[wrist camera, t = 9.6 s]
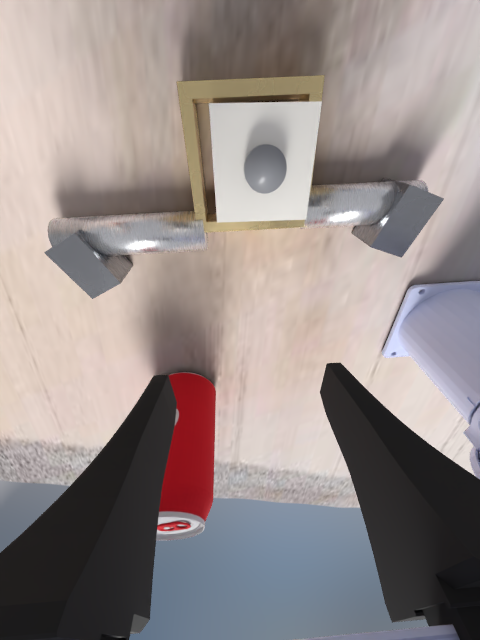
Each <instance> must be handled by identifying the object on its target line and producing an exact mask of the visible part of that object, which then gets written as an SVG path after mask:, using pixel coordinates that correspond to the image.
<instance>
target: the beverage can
mask: <svg viewBox="0 0 480 640" xmlns="http://www.w3.org/2000/svg"><path fill="white" fill-rule="evenodd" d="M169 379H170V382H171V385H172V388H173V391H174V395H175V398H176V401H177V408H176V419H175V427H174V432H173V436H172V441H171V446H170V451H169V455H168V460H167V465H166V470H165V474H164V479H163V485H162V492H161V500H160V508H159V517H158V526H157V535H156V540H178V539H184V538H189V537H193V536H195V535H198V534H200V533H201V532H202V531H203V530H204V528H205V521H206V518H207V516H208V513H209V511H210V508H211V506H212V502H213V483H214V442H215V401H216V390H215V387H214V385H213V384H212V383H211V382H210V381H209V380H208V379H207V378H205V377H203V376H201V375H199V374H195V373H190V372H179V373H174V374H170V375H169Z"/></svg>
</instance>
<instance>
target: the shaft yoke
mask: <svg viewBox="0 0 480 640" xmlns="http://www.w3.org/2000/svg"><path fill="white" fill-rule="evenodd" d="M324 76H325V75H318V76H295V77H272V78H248V79H225V80H202V81H178V82H177V88H178V96H179V103H180V110H181V117H182V124H183V132H184V139H185V146H186V153H187V160H188V168H189V175H190V182H191V189H192V197H193V204H194V211H180V212H162V213H144V214H125V215H107V216H89V217H71V218H54V219H52V220H51V221H50V223H49V225H48V236H49V240H50V243H51V245H52V248H51V249H49V250H48V251H46V252H45V254H46V255H47V256H48V257H49V258H50V259H51V260H52V261H53V262H54V263H56V264H57V265H58V266H59V267H60V268H61V269H62V270H63V271H64V272H65V273H66V274H67V275H68V276H69V277H70V278H71V279H72V280H73V281H74V282H75V283H76V284H77V285H79V286H80V287H81V288H82V289H83V290H84V291H85V292H86V293H87V294H88V295H89V296H90V297H91V298H92V299H93V298H95V297H97V296H99V295H100V294H102V293H104V292H106V291H108V290H109V289H111V288H113V287H115V286H117V285H118V284H120V283H121V282H122V281H123V279H124V278H125V276H126V275H127V274H128V272H129V271H130V269H131V268H132V266H133V264H132V263H131V262H130V261H129V259H128V258H127V257H126V256H125V255H135V254H152V253H169V252H186V251H203V250H208V237H207V232H225V231H242V230H260V229H278V228H295V227H300V228H301V229H304V228H322V227H339V226H355V228H354V230H353V232H352V234H353V235H355V236H356V237H358V238H359V239H360V240H362V241H363V242H364V243H366V244H367V245H369V246H370V247H372V248H375V249H378V250H381V251H384V252H387V253H390V254H393V255H396V256H399V257H402V256H403V255H404V253H405V252H406V251H407V249H408V248H409V247H410V245H411V244H412V242H413V241H414V240H415V238H416V237H417V235H418V234H419V233H420V231H421V230H422V229H423V227H424V226H425V224H426V223H427V222H428V220H429V219H430V217H431V216H432V215H433V213H434V212H435V211H436V209H437V208H438V206H439V205H440V204H441V202H442V201H443V198H441V197H439V196H436V195H434V194H431V193H429V192H428V188H427V185H426V183H425V182H424V181H422V180H406V181H394V180H390V179H386V178H383V179H382V181H381V182H369V183H350V184H331V185H312V180H311V187H310V195H309V202H308V210H307V217H306V220H279V221H249V222H219V223H217V214H208V211H207V202H206V193H205V183H204V174H203V165H202V156H201V147H200V138H199V129H198V120H197V110H196V104H202V103H225V102H247V101H269V100H291V99H299V102H317V101H322V93H323V84H324ZM316 144H317V143H316ZM315 152H316V150H315ZM314 161H315V158H314ZM313 169H314V165H313ZM312 178H313V172H312Z"/></svg>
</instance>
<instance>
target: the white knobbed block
mask: <svg viewBox="0 0 480 640" xmlns="http://www.w3.org/2000/svg"><path fill="white" fill-rule="evenodd" d="M321 105H322V101H317V102H254V103H209V113H210V127H211V142H212V156H213V171H214V185H215V199H216V214H217V223H219V222H249V221H279V220H306V217H307V210H308V202H309V195H310V187H311V180H312V172H313V165H314V158H315V150H316V143H317V135H318V128H319V120H320V113H321Z"/></svg>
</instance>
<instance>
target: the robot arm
mask: <svg viewBox="0 0 480 640" xmlns="http://www.w3.org/2000/svg"><path fill="white" fill-rule="evenodd" d="M420 290H421V291H420ZM419 291H420V292H419ZM382 355H383V356H384V357H387V358H388V357H402V356H411V358H412V359H413V360H414V361H415V362H416V363H417V365H418V366H419V367H420V368H421V369H422V370H423V372H424V373H425V374H426V375H427V376H428V377H429V378H430V380H431V381H432V382H433V383H434V384H435V385H436V387H437V388H438V389H439V390H440V391H441V392H442V393H443V395H444V396H445V397H446V398H447V399H448V400H449V402H450V403H451V404H452V405H453V406H454V407H455V409H456V410H457V411H458V412H459V413H460V414H461V415H462V417H463V418H464V419H465V420H466V421H467V422H468V424H469V425H470V426H469V427H468V428H467V429H466V430H465V431H464V434H465V435H466V437H467V438H468V439H469V440H470V442H471V443H472V444H473V445H474V447H473V448H472V449H471V452H470V462H471V466H472V469H473V471H474V474H475V476H476V477H475V476H474V475H472V474H471V473H469V472H468V471H466V470H465V469H463V468H462V467H461V466H459V465H458V464H456V463H455V462H453V461H452V460H451V459H449V458H448V457H446V456H445V455H443V454H442V453H441V452H439V451H438V450H436V449H435V448H434V447H432V446H431V445H430V444H428V443H427V442H426V441H425V440H423V439H422V438H421V437H419V436H418V435H417V434H416V433H414V432H413V431H412V430H411V429H409V428H408V427H407V426H406V425H405V424H404V423H402V422H401V421H400V420H399V419H398V418H397V417H395V416H394V415H393V414H392V413H391V412H390V411H389V410H388V409H387V408H385V407H384V406H383V405H382V404H381V403H380V402H379V401H378V400H377V399H376V398H375V397H374V396H373V395H372V394H371V393H370V392H369V391H368V390H367V389H366V388H365V387H364V386H363V385H362V384H361V383H360V382H359V381H358V380H357V379H356V378H355V377H354V376H353V375H352V374H351V373H350V372H349V371H348V370H347V369H346V368H345V367H344V366H343V365H342V364H341V363H328V364H327V365H326V369H325V374H324V378H323V382H322V386H321V390H320V394H321V398H322V401H323V405H324V408H325V412H326V415H327V417H328V420H329V422H330V425H331V427H332V430H333V432H334V435H335V437H336V439H337V442H338V444H339V447H340V449H341V452H342V454H343V456H344V459H345V461H346V464H347V467H348V469H349V472H350V475H351V478H352V481H353V484H354V488H355V491H356V494H357V497H358V501H359V504H360V507H361V511H362V514H363V518H364V521H365V524H366V528H367V532H368V536H369V540H370V543H371V547H372V551H373V554H374V558H375V562H376V567H377V570H378V575H379V579H380V583H381V587H382V591H383V596H384V600H385V604H386V606H387V610H388V612H389V615H390V618H391V620H392V622H400V621H401V622H402V621H412V620H423V619H426V620H427V623H428V625H429V627H419V628H409V629H399V630H389V631H378V632H367V633H358V634H347V635H336V636H326V637H315V638H305V639H294V640H480V281H468V282H452V283H437V284H421V285H413V286H411V287H410V288H409V289H408V291H407V293H406V295H405V298H404V300H403V303H402V305H401V307H400V310H399V312H398V315H397V317H396V320H395V322H394V324H393V327H392V329H391V332H390V334H389V337H388V339H387V341H386V344H385V346H384V349H383V351H382ZM176 408H177V401H176V398H175V395H174V391H173V388H172V385H171V382H170V379H169V375H157V376H154V377H153V378H152V380H151V381H150V383H149V385H148V386H147V388H146V389H145V391H144V392H143V394H142V396H141V397H140V399H139V400H138V402H137V403H136V405H135V406H134V408H133V409H132V411H131V412H130V413H129V415H128V416H127V418H126V419H125V421H124V422H123V423H122V425H121V426H120V427H119V429H118V430H117V431H116V433H115V434H114V435H113V437H112V438H111V439H110V441H109V442H108V443H107V445H106V446H105V447H104V448H103V449H102V451H101V452H100V453H99V454H98V456H97V457H96V458H95V459H94V460H93V461H92V463H91V464H90V465H89V466H88V467H87V468H86V469H85V471H84V472H83V473H82V474H81V475H80V476H79V477H78V478H77V479H76V480H75V481H74V483H73V484H72V485H71V486H70V487H69V488H68V489H67V490H66V491H65V492H64V493H63V494H62V495H61V496H60V497H59V498H58V500H56V501H55V502H54V503H53V504H52V505H51V506H50V507H49V508H48V509H47V510H46V511H45V512H44V513H43V514H42V515H41V516H40V517H39V518H38V519H37V520H36V521H35V522H34V523H33V524H32V525H31V526H30V527H28V528H27V529H26V530H25V531H24V532H23V533H22V534H21V535H20V536H19V537H18V538H17V539H16V540H14V541H13V542H12V543H11V544H10V545H9V546H7V547H6V548H5V549H4V550H3V551H2V552H1V553H0V640H129V637H130V634H133V633H140V632H141V631H142V630H143V628H144V627H145V626H146V624H147V623H148V621H149V620H150V606H151V593H152V579H153V567H154V556H155V545H156V535H157V526H158V517H159V508H160V500H161V492H162V485H163V479H164V474H165V470H166V465H167V460H168V455H169V451H170V446H171V441H172V436H173V432H174V427H175V419H176Z"/></svg>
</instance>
